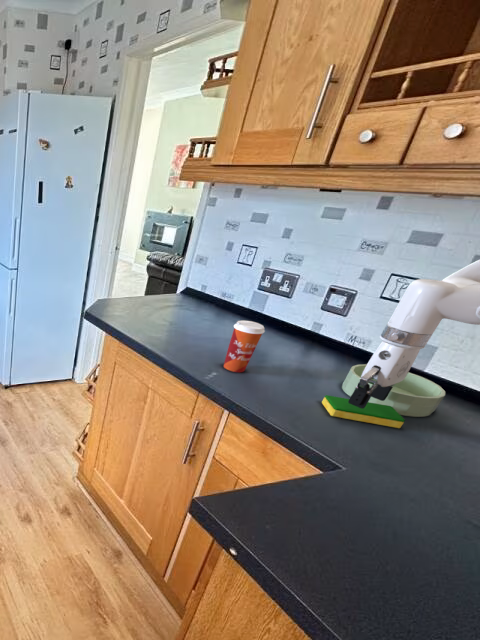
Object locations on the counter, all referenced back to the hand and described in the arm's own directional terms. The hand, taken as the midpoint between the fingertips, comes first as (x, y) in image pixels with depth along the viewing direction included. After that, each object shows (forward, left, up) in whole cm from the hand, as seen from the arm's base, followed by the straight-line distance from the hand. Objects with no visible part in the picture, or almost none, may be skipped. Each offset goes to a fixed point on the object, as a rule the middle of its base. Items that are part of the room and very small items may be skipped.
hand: (366, 401), depth 101 cm
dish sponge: (0, 0, -4) cm, 4 cm away
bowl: (+2, -17, -4) cm, 18 cm away
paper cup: (+30, +5, -4) cm, 30 cm away
